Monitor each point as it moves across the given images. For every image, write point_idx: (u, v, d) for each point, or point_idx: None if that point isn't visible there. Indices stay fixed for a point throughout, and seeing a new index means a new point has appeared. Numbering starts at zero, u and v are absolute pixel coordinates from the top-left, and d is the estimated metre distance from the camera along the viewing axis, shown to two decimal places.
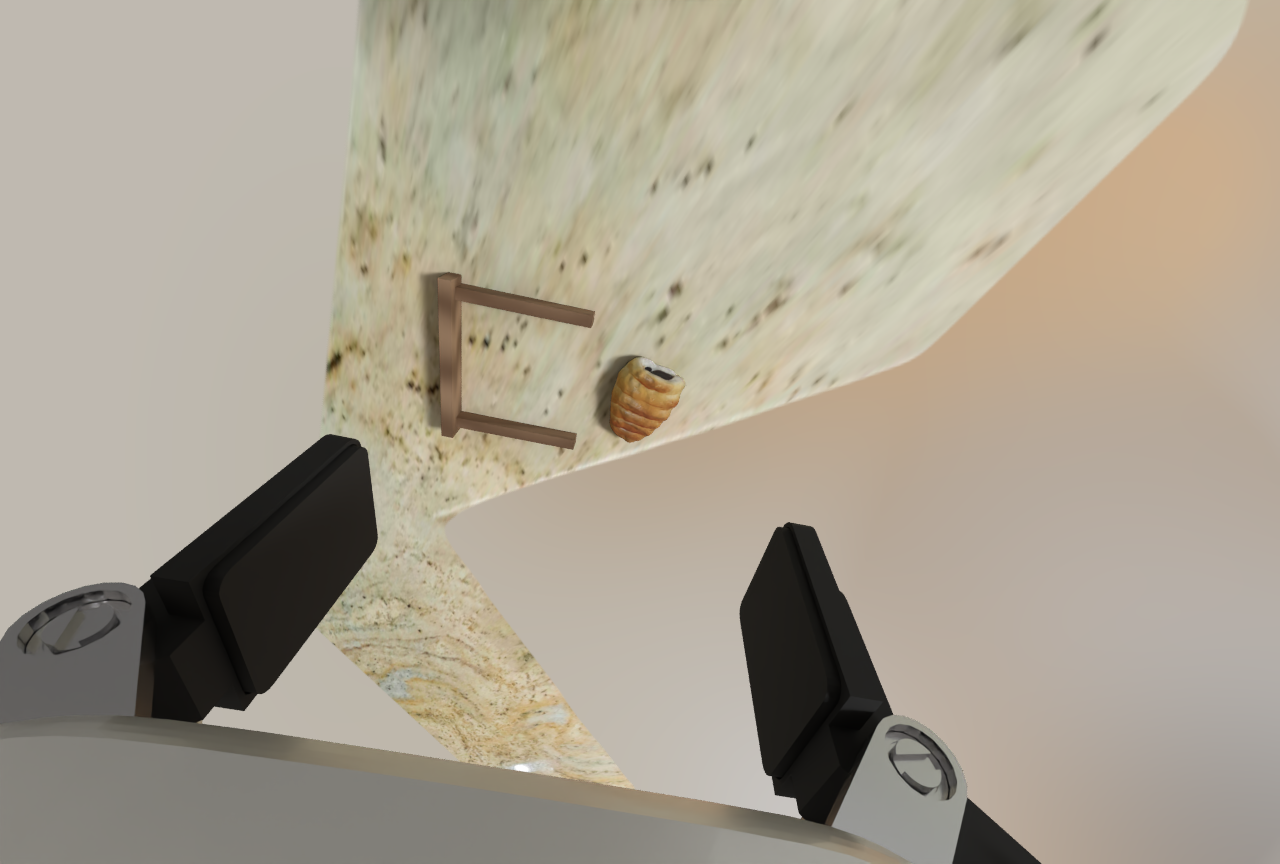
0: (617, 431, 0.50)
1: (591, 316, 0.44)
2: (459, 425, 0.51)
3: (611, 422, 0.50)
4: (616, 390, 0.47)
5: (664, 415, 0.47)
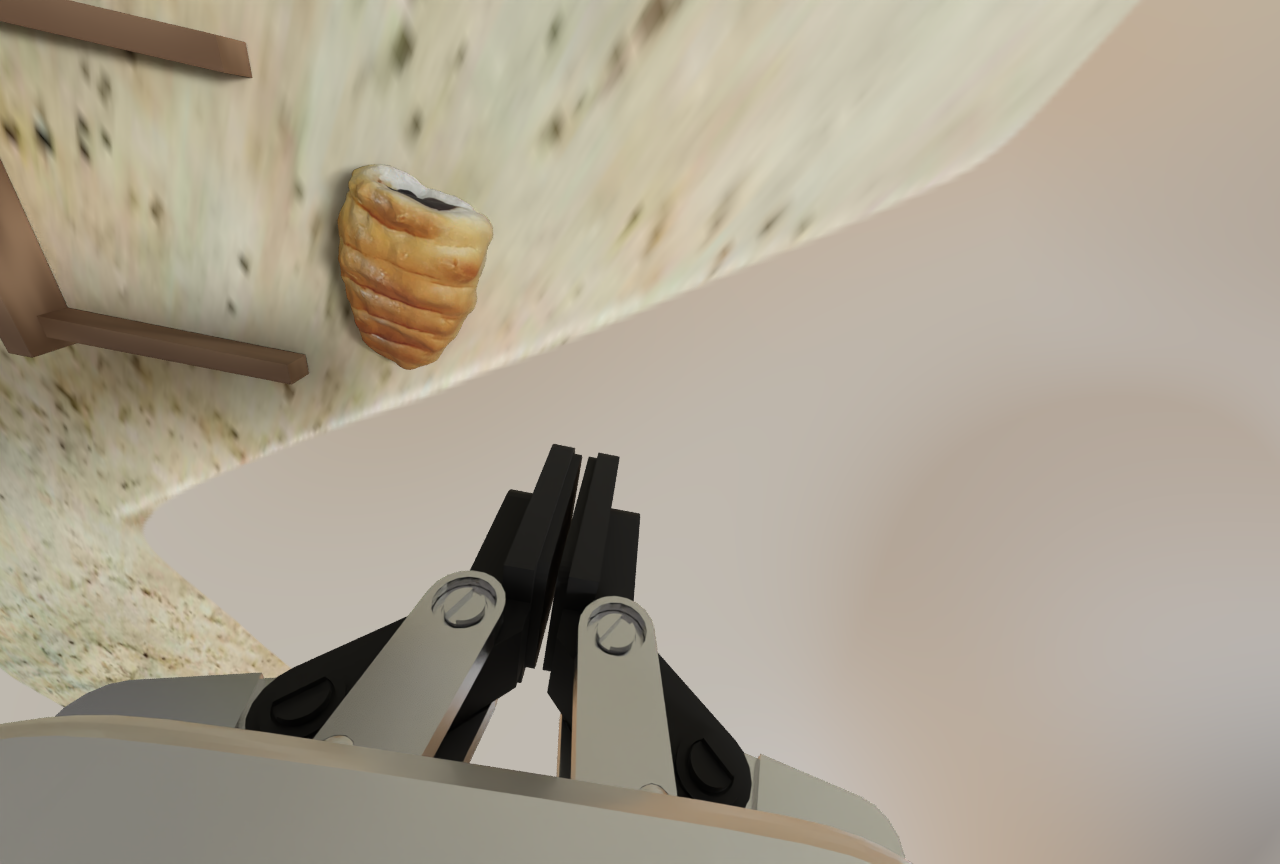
0: (373, 344, 0.24)
1: (213, 36, 0.18)
2: (51, 333, 0.25)
3: (357, 325, 0.24)
4: (340, 245, 0.22)
5: (444, 296, 0.22)
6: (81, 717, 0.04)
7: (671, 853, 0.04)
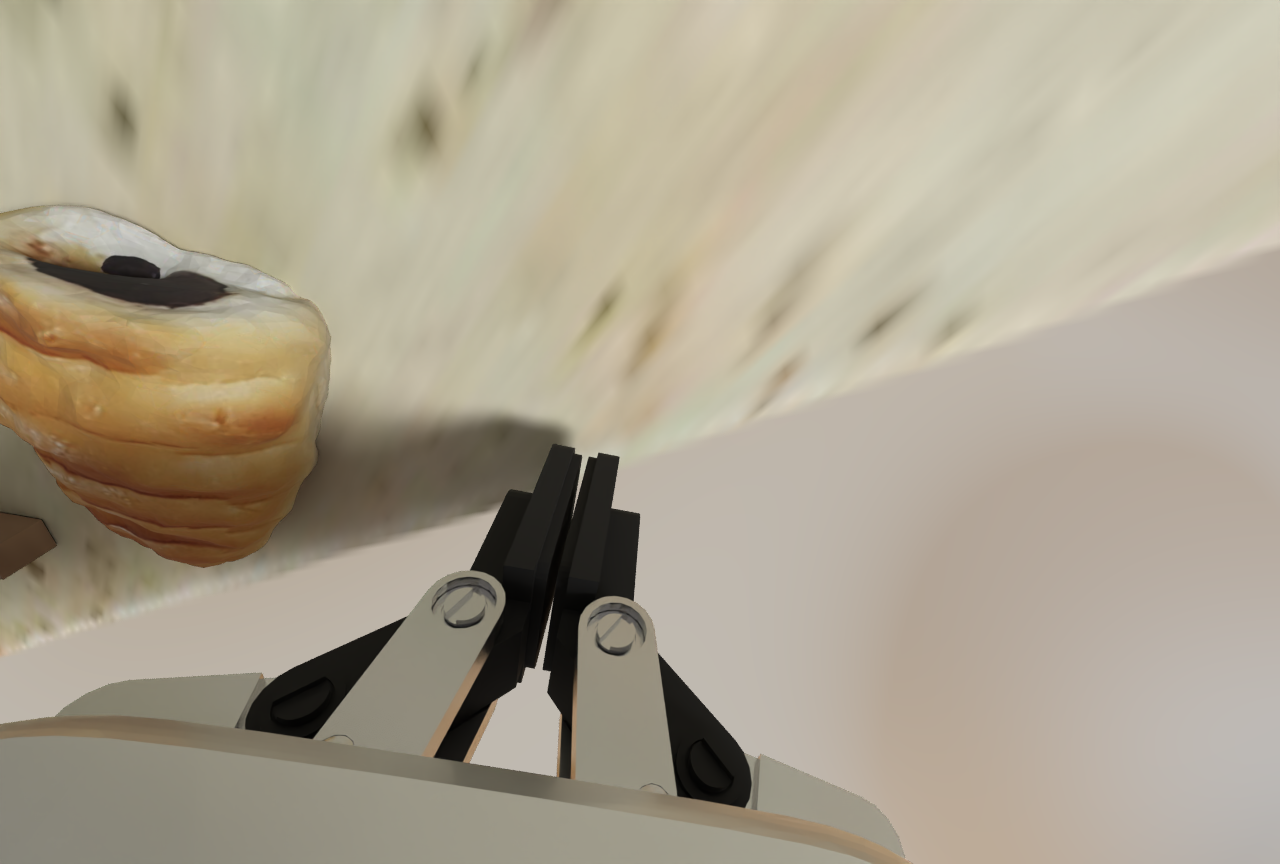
0: (124, 535, 0.13)
1: None
2: None
3: None
4: None
5: (216, 477, 0.10)
6: (80, 717, 0.04)
7: (671, 853, 0.04)
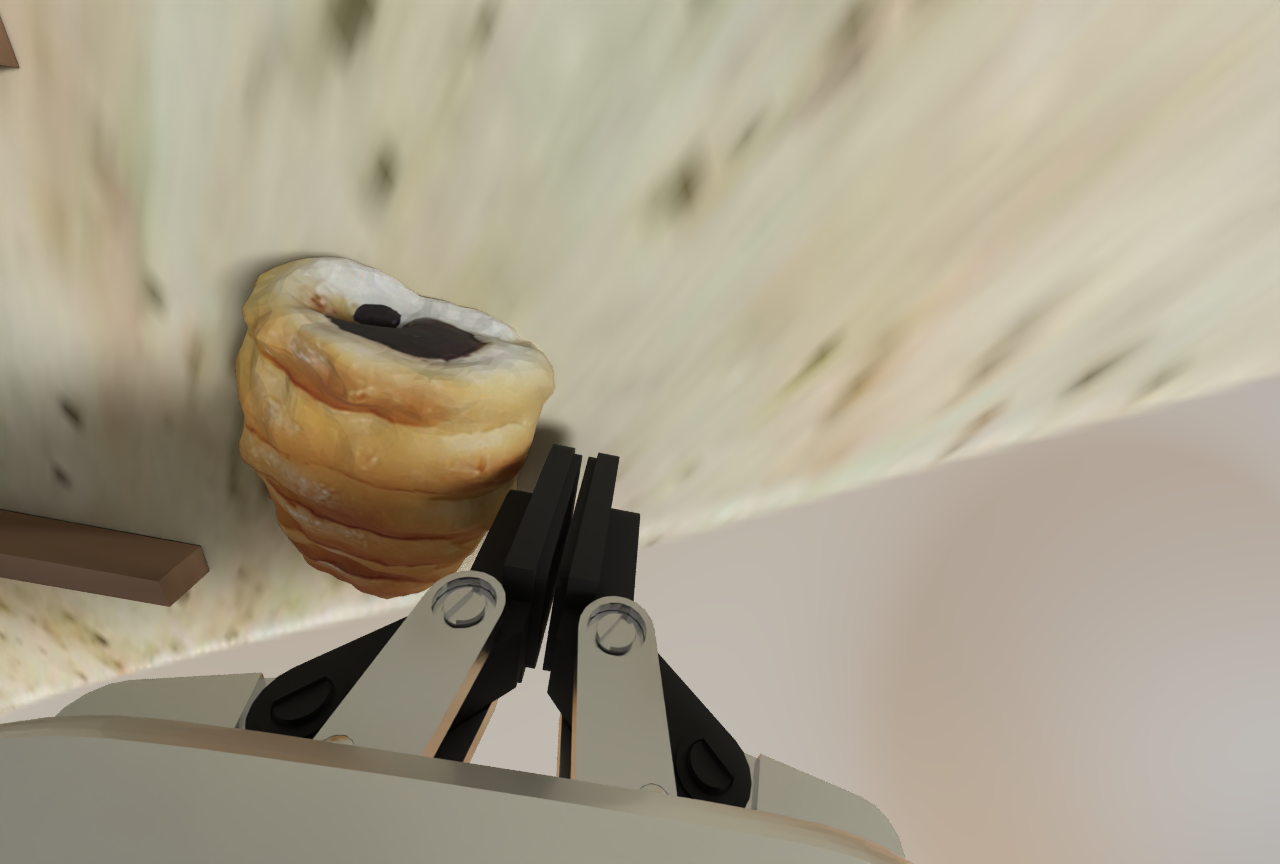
0: (323, 569, 0.13)
1: None
2: None
3: None
4: (244, 417, 0.11)
5: (458, 520, 0.10)
6: (81, 717, 0.04)
7: (671, 853, 0.04)
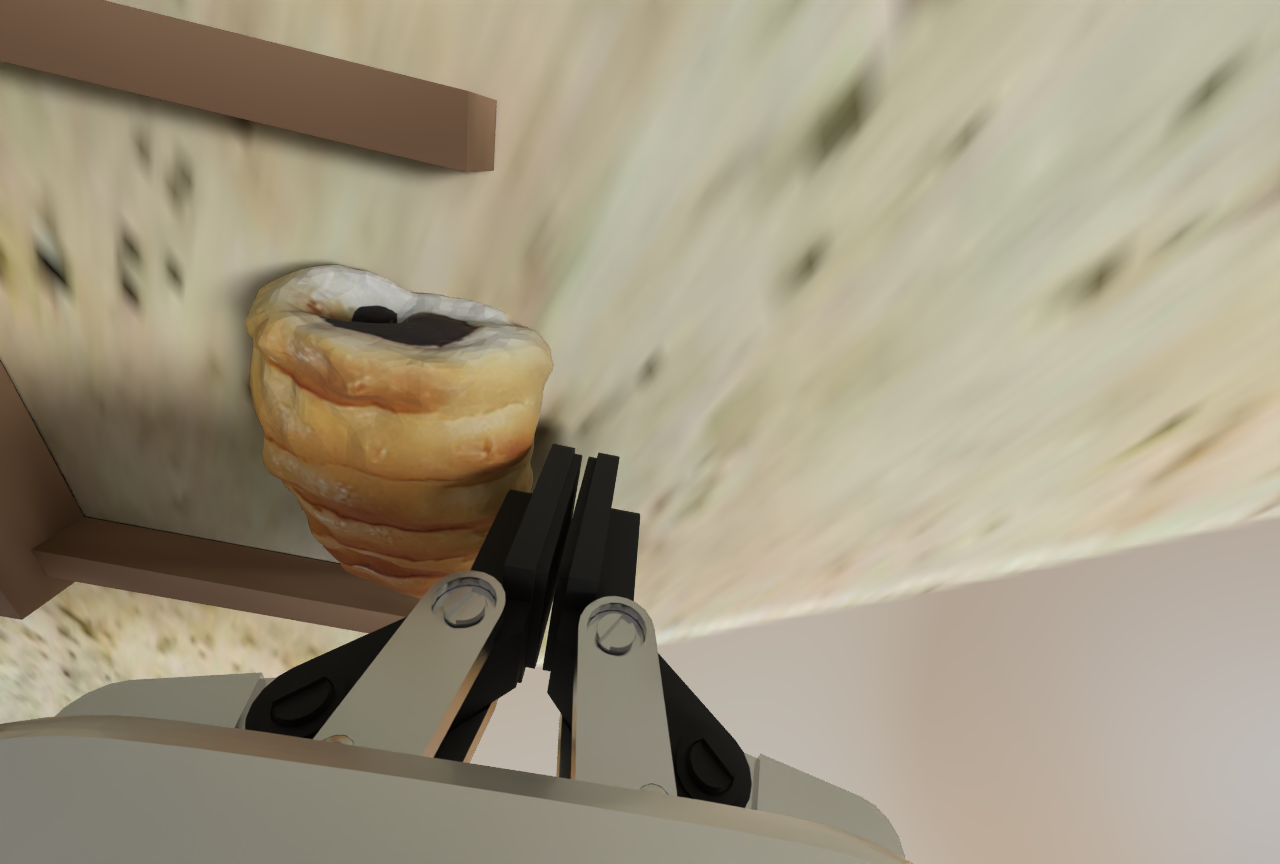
0: (360, 574, 0.13)
1: (461, 95, 0.08)
2: (56, 572, 0.15)
3: None
4: None
5: (474, 506, 0.11)
6: (81, 717, 0.04)
7: (671, 853, 0.04)
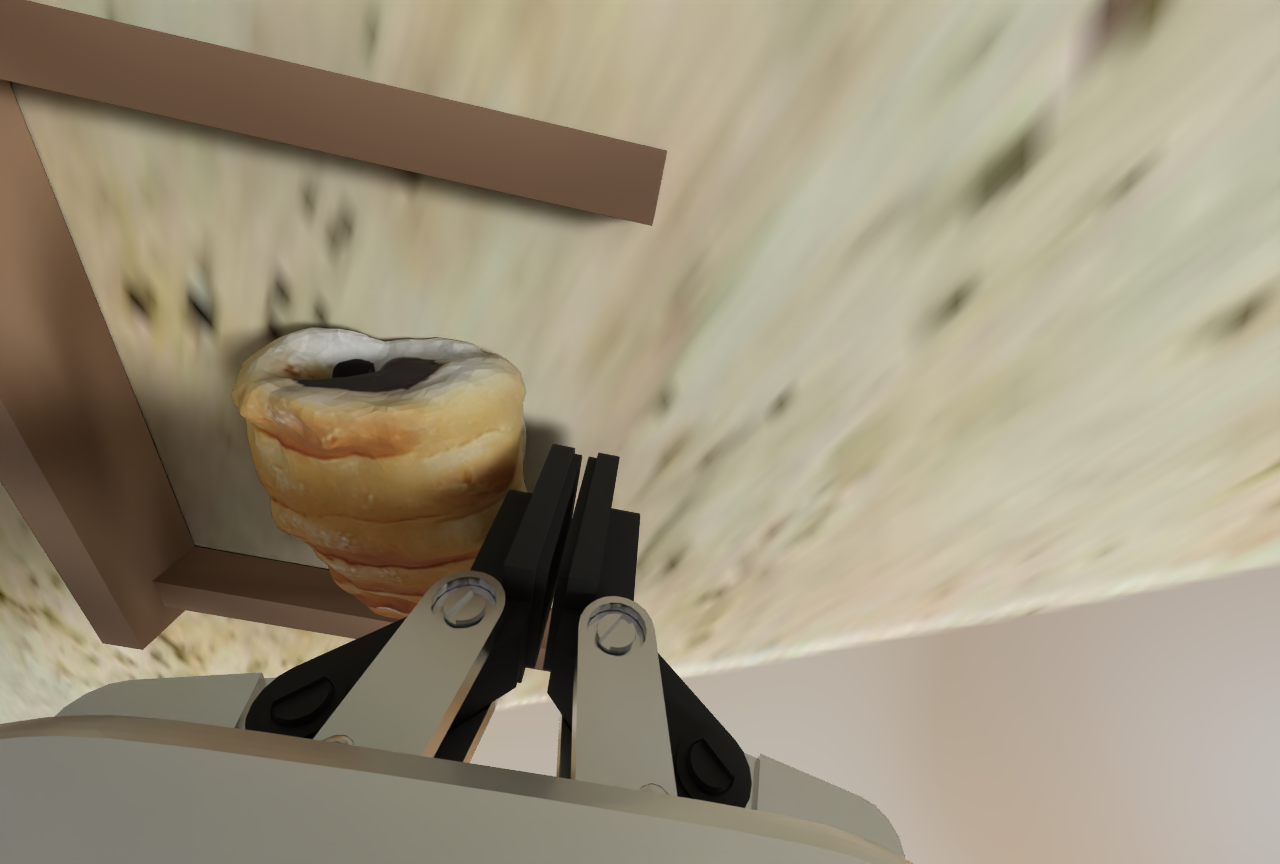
0: (387, 614, 0.14)
1: (659, 154, 0.08)
2: (173, 602, 0.15)
3: None
4: None
5: (469, 537, 0.11)
6: (81, 717, 0.04)
7: (671, 853, 0.04)
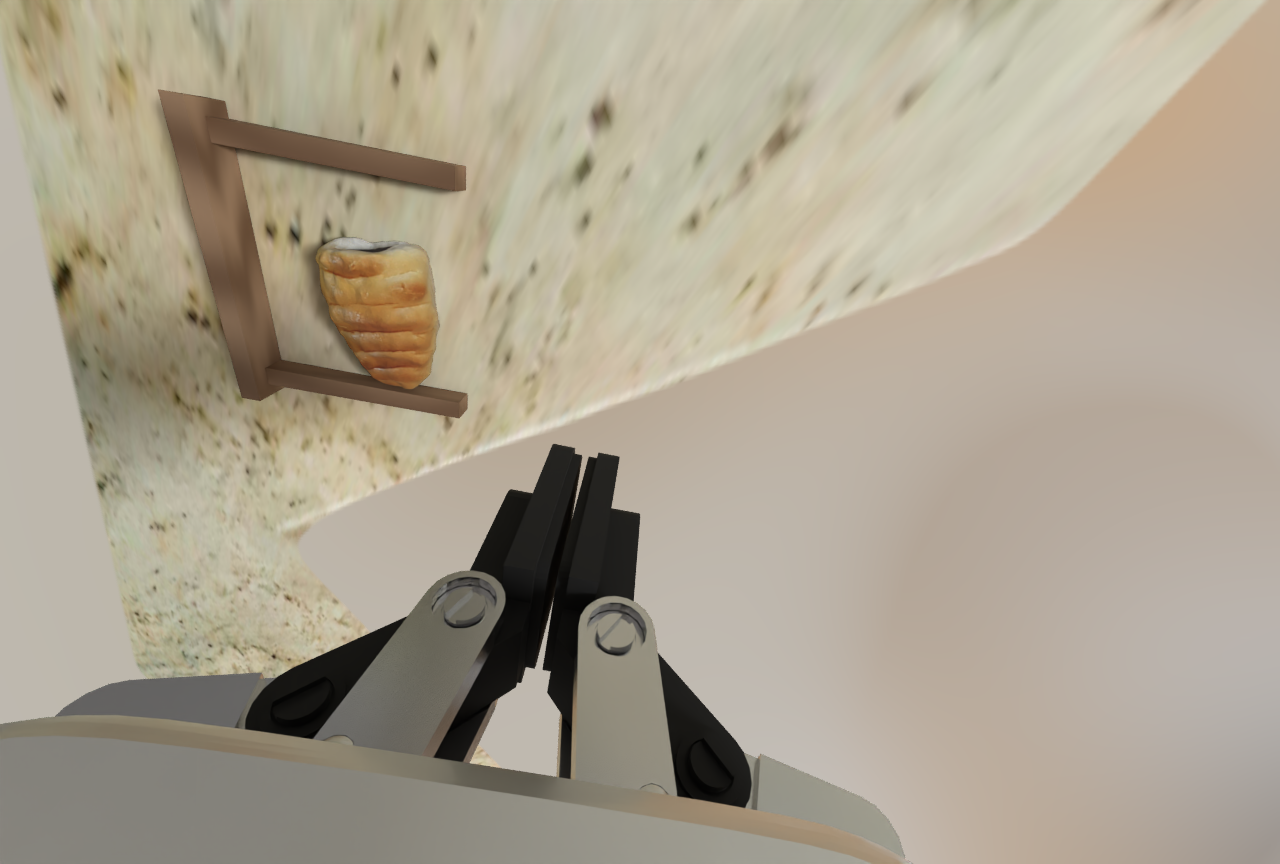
0: (379, 376, 0.30)
1: (452, 167, 0.25)
2: (273, 381, 0.32)
3: (364, 366, 0.31)
4: None
5: (406, 315, 0.27)
6: (81, 717, 0.04)
7: (671, 853, 0.04)
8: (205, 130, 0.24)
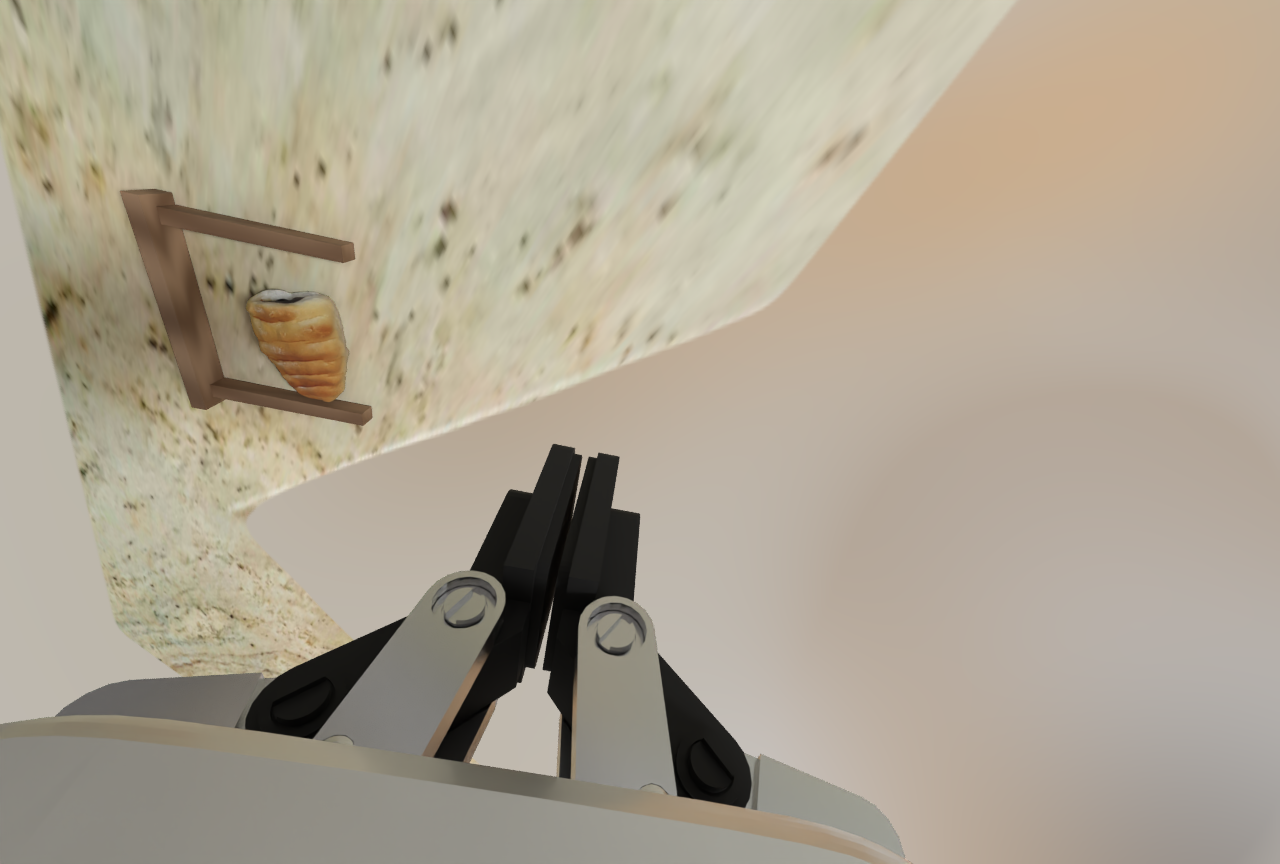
0: (303, 393, 0.40)
1: (339, 246, 0.34)
2: (216, 394, 0.41)
3: None
4: None
5: (316, 348, 0.36)
6: (80, 717, 0.04)
7: (671, 853, 0.04)
8: (156, 216, 0.33)
